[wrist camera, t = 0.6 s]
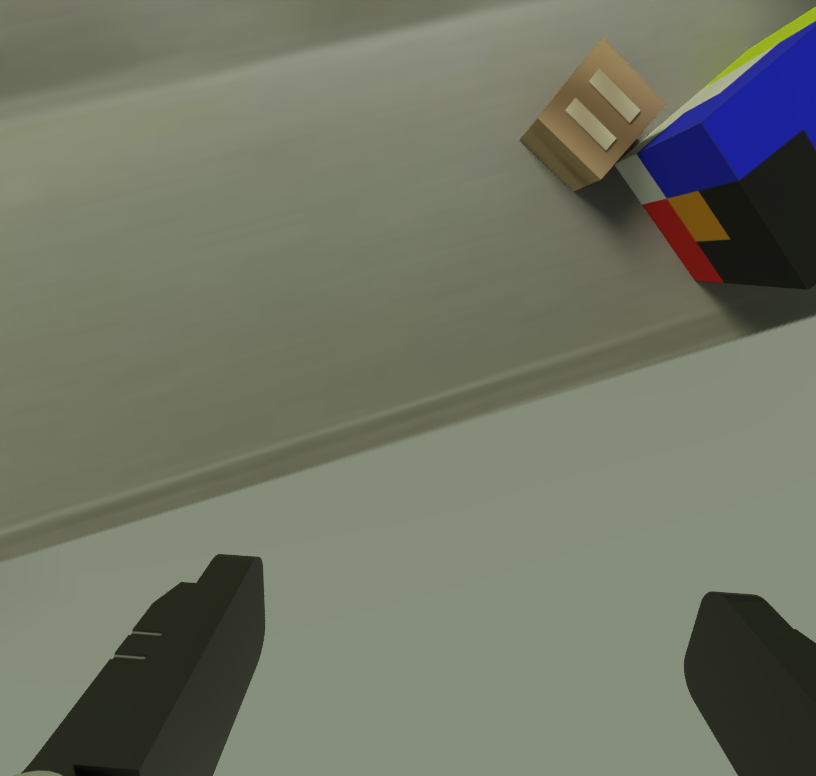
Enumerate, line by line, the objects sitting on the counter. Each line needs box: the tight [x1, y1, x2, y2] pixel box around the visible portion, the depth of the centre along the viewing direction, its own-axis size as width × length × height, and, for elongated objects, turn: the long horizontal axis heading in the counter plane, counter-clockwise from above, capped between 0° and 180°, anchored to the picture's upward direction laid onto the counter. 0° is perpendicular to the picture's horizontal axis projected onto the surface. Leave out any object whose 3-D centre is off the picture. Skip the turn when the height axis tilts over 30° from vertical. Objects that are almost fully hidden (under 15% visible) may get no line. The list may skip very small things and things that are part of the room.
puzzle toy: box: [614, 7, 816, 289], centre depth 26 cm, size 10×10×10 cm
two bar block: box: [520, 38, 666, 192], centre depth 28 cm, size 5×5×5 cm
